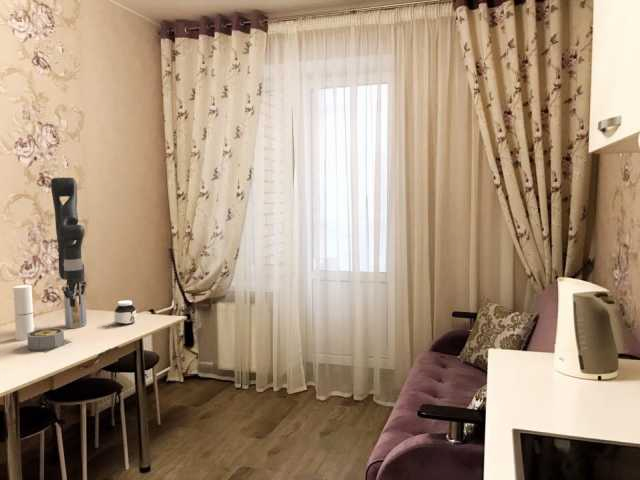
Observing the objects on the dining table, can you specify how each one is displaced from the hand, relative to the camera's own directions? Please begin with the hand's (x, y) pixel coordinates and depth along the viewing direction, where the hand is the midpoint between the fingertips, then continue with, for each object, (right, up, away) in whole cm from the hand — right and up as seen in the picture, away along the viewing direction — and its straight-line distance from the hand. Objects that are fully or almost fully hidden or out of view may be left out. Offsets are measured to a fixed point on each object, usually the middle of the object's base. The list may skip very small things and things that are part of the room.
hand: (75, 305), depth 228 cm
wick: (0, -10, +1) cm, 10 cm away
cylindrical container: (-24, -16, +1) cm, 29 cm away
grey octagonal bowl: (-8, -16, -10) cm, 21 cm away
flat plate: (-8, -17, -10) cm, 21 cm away
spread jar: (+10, -14, +32) cm, 36 cm away
